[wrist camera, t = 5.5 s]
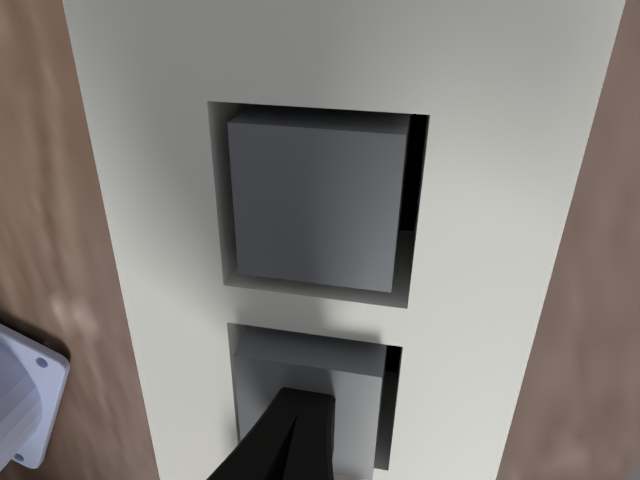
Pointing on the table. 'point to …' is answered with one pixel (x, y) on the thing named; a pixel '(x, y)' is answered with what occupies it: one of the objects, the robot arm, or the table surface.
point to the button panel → (413, 246)
